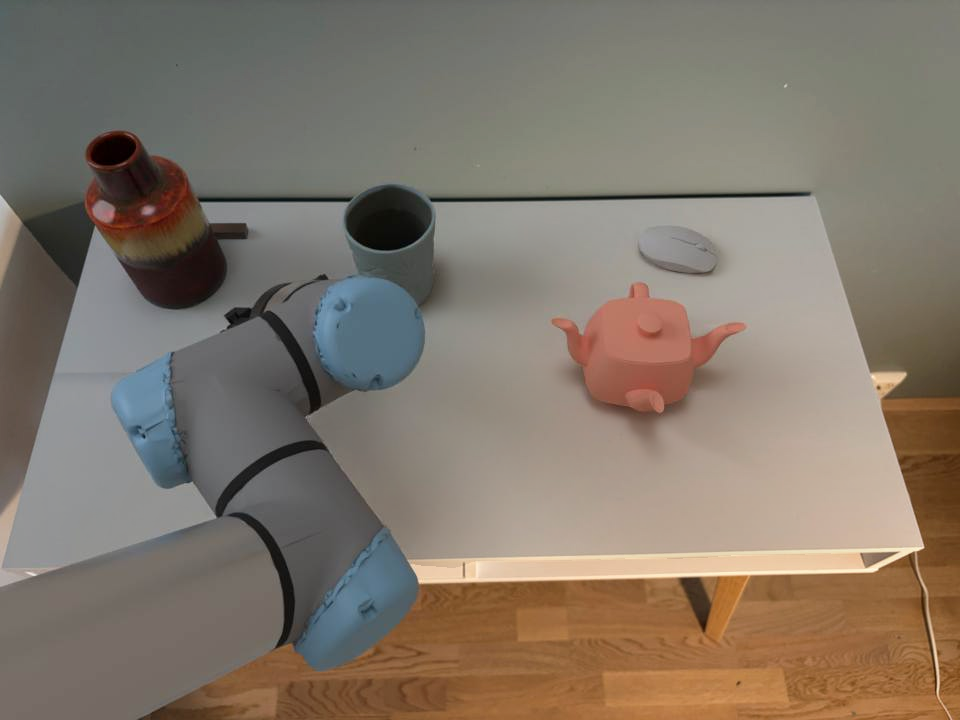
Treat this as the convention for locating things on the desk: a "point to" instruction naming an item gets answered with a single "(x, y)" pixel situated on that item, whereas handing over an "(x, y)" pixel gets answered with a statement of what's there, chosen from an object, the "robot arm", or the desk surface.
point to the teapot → (641, 350)
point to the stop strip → (229, 230)
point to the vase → (152, 222)
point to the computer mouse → (678, 249)
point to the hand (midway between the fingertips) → (236, 321)
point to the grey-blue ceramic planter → (393, 236)
